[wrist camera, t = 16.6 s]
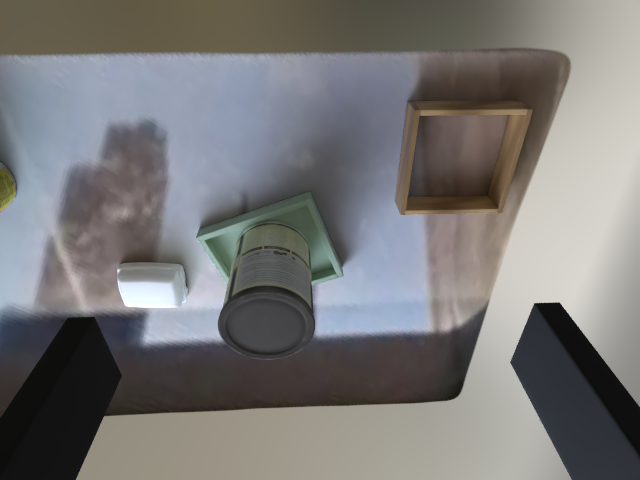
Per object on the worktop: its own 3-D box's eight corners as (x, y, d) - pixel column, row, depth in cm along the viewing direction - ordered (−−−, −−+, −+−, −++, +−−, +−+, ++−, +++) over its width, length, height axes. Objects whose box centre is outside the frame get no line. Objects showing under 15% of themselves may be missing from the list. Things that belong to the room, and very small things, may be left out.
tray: (310, 190, 49) (310, 198, 48) (342, 267, 57) (343, 276, 55) (198, 229, 52) (195, 237, 50) (243, 297, 59) (241, 307, 57)
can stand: (518, 100, 44) (533, 108, 41) (490, 199, 51) (502, 213, 48) (407, 100, 44) (414, 110, 41) (394, 201, 51) (400, 214, 48)
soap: (183, 263, 55) (178, 276, 52) (189, 299, 59) (185, 313, 56) (116, 261, 54) (108, 275, 52) (127, 298, 58) (119, 312, 56)
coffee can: (320, 270, 56) (326, 348, 44) (252, 287, 57) (240, 368, 46) (297, 210, 50) (297, 281, 39) (222, 230, 52) (200, 306, 40)
